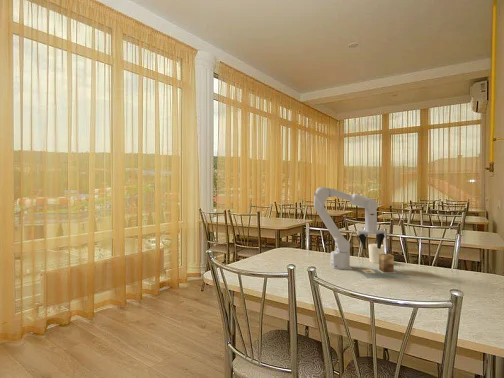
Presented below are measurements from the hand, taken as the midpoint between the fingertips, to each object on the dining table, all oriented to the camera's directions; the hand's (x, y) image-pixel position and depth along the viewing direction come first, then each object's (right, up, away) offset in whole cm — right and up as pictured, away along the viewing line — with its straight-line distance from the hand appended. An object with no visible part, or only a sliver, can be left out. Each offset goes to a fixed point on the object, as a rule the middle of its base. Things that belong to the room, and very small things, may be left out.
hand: (371, 248), depth 167 cm
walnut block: (+5, -10, -7) cm, 13 cm away
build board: (+1, -11, -11) cm, 15 cm away
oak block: (+5, -6, -7) cm, 10 cm away
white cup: (+7, -10, +12) cm, 18 cm away
